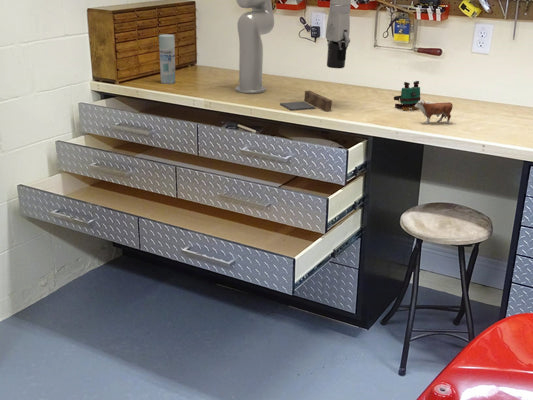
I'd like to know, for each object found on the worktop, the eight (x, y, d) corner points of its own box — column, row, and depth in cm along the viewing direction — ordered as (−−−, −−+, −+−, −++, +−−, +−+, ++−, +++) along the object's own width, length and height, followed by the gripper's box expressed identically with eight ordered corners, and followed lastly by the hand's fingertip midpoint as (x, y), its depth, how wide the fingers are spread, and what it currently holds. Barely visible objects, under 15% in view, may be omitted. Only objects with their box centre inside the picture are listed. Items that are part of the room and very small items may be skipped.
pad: (279, 104, 242) (279, 103, 242) (303, 102, 246) (303, 101, 246) (291, 110, 233) (291, 109, 233) (315, 108, 237) (315, 107, 237)
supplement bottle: (343, 69, 237) (346, 36, 232) (325, 68, 238) (327, 35, 233) (345, 66, 243) (348, 34, 239) (327, 65, 244) (329, 33, 240)
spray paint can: (158, 83, 273) (156, 35, 266) (163, 80, 279) (162, 34, 272) (172, 84, 272) (171, 36, 265) (177, 81, 278) (176, 34, 271)
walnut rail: (304, 100, 249) (304, 90, 248) (308, 100, 250) (309, 90, 248) (326, 111, 234) (327, 100, 232) (331, 111, 235) (331, 100, 233)
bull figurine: (411, 121, 224) (414, 98, 221) (448, 121, 225) (451, 98, 222) (415, 124, 220) (418, 101, 217) (453, 124, 221) (456, 101, 218)
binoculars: (407, 79, 246) (425, 81, 237) (406, 106, 249) (423, 109, 240) (389, 80, 242) (406, 82, 233) (388, 108, 245) (405, 111, 236)
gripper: (319, 7, 239) (316, 55, 245) (343, 12, 224) (339, 63, 231) (337, 7, 241) (333, 54, 248) (361, 11, 227) (356, 62, 233)
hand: (336, 58), depth 239 cm, fingers closed on supplement bottle, 6 cm apart
